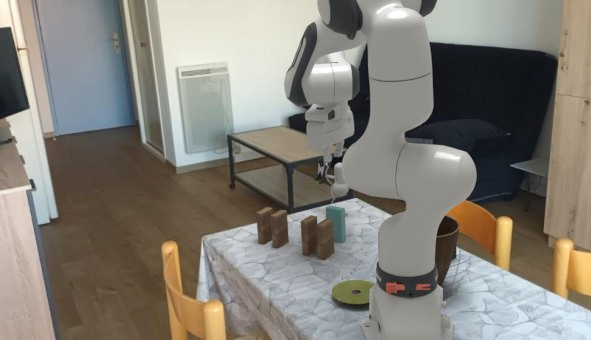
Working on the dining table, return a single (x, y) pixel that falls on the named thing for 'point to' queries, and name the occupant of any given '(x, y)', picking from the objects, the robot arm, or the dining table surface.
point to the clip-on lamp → (322, 175)
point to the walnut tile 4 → (309, 235)
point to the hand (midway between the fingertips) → (333, 158)
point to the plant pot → (445, 246)
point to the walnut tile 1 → (264, 225)
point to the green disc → (353, 291)
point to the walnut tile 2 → (279, 228)
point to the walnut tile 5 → (325, 239)
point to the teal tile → (337, 222)
